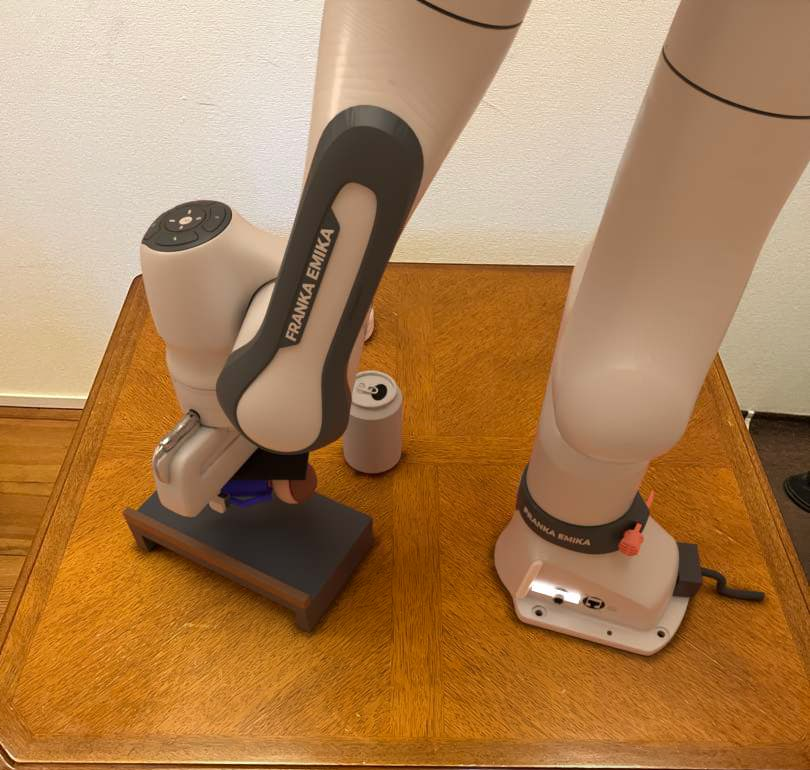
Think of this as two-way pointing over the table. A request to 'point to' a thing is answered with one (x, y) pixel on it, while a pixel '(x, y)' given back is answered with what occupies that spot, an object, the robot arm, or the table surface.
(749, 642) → the table surface
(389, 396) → the can
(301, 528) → the shelf
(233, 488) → the figurine character
